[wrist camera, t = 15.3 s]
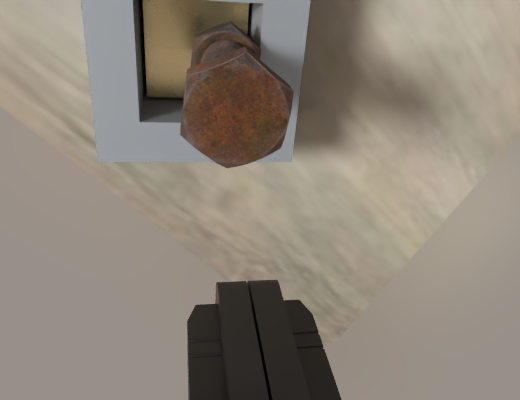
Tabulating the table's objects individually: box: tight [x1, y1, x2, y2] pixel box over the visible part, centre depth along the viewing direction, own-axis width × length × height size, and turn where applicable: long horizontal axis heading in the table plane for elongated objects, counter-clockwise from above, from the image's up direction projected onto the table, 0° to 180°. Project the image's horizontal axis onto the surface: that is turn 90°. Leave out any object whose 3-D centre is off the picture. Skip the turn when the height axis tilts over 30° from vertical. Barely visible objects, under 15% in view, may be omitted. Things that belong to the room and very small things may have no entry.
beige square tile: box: [143, 0, 249, 98], centre depth 36 cm, size 7×7×2 cm
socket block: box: [81, 0, 311, 162], centre depth 34 cm, size 14×14×6 cm
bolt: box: [180, 21, 294, 168], centre depth 29 cm, size 6×5×15 cm
